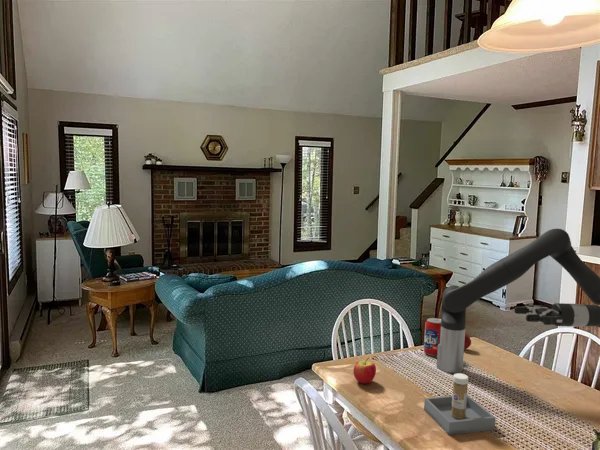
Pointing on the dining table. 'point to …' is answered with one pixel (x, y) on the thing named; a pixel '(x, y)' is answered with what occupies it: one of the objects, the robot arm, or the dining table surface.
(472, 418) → the bin
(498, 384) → the dining table surface
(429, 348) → the soda can
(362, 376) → the apple
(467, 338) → the onion
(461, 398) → the sprinkles bottle
